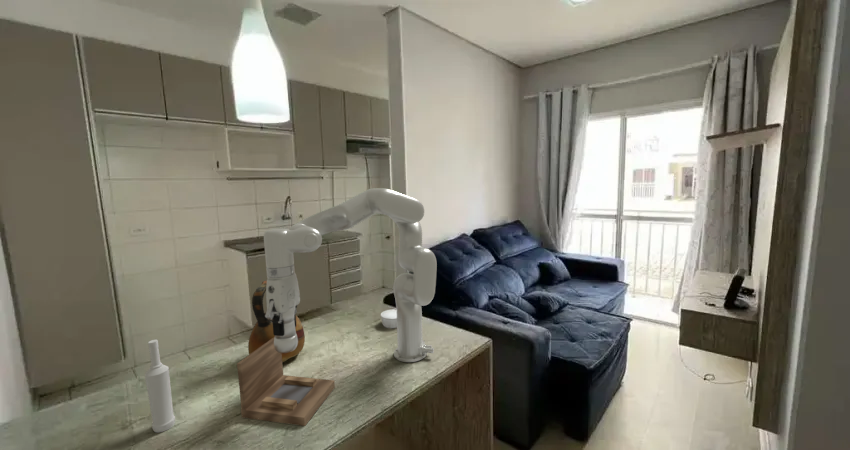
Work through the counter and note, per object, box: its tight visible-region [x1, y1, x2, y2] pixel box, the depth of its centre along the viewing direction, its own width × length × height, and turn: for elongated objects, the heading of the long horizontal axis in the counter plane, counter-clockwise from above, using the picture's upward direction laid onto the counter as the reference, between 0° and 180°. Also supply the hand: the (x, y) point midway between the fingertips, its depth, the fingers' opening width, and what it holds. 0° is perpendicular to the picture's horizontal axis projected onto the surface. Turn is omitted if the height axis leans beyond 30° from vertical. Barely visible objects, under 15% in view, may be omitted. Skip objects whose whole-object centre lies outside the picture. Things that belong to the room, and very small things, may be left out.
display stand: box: [236, 337, 336, 427], centre depth 104 cm, size 20×18×16 cm
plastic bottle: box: [274, 299, 298, 353], centre depth 102 cm, size 6×7×20 cm
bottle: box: [144, 339, 176, 433], centre depth 94 cm, size 5×5×25 cm
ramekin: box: [380, 308, 397, 329], centre depth 161 cm, size 11×11×5 cm
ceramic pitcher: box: [247, 280, 306, 363], centre depth 131 cm, size 20×20×30 cm
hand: (285, 330), depth 103 cm, fingers closed on plastic bottle, 5 cm apart
